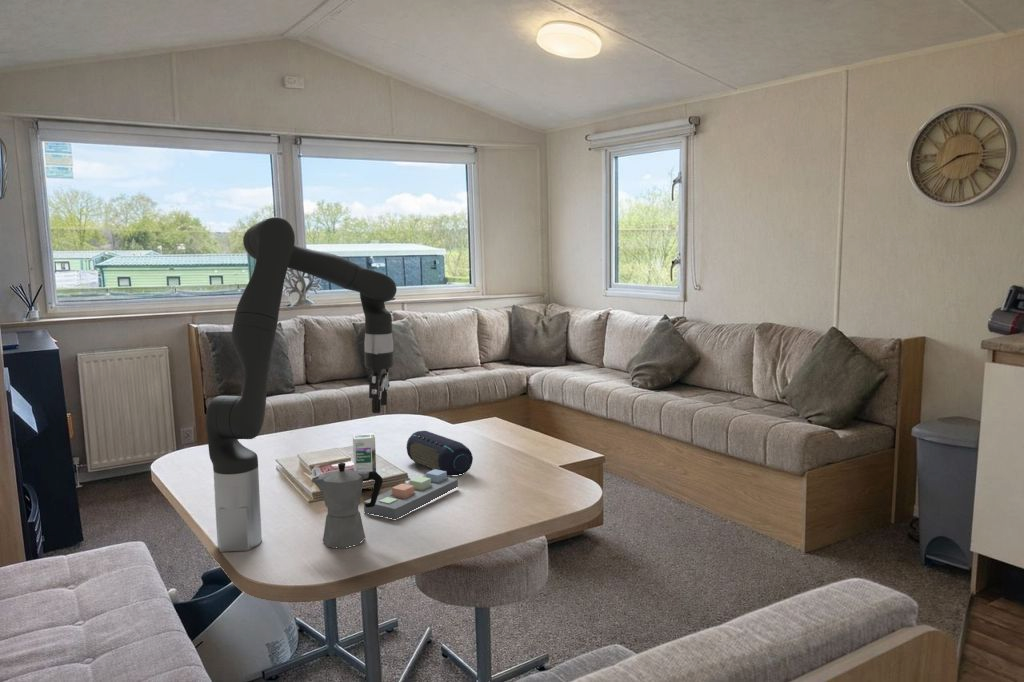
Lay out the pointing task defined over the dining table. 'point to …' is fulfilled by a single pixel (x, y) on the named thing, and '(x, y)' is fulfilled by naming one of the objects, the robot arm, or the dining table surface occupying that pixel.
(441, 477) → the slate button
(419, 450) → the portable speaker
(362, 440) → the syrup box
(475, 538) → the dining table surface
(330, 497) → the coffeepot
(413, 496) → the button panel
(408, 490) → the terracotta button
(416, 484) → the sage button
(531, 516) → the dining table surface
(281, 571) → the dining table surface
